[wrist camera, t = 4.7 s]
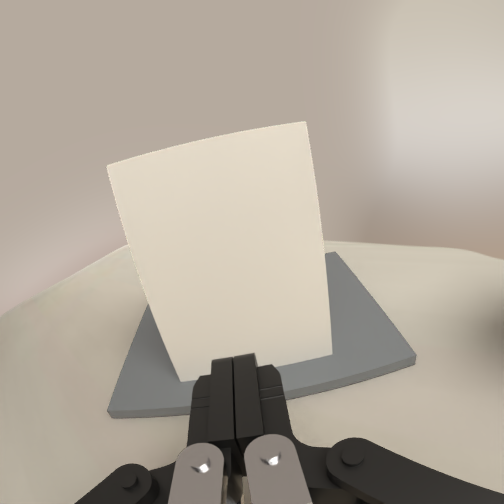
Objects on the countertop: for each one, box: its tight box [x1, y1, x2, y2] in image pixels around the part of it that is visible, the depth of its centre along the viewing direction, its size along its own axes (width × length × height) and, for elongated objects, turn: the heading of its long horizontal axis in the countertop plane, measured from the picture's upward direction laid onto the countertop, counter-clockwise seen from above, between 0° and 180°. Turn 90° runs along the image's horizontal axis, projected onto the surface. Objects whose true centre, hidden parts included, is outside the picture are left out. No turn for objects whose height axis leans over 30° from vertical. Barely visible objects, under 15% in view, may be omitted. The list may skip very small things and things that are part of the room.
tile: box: [106, 121, 332, 382], centre depth 18 cm, size 10×2×14 cm, turn 94°
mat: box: [107, 252, 416, 418], centre depth 26 cm, size 20×18×1 cm
